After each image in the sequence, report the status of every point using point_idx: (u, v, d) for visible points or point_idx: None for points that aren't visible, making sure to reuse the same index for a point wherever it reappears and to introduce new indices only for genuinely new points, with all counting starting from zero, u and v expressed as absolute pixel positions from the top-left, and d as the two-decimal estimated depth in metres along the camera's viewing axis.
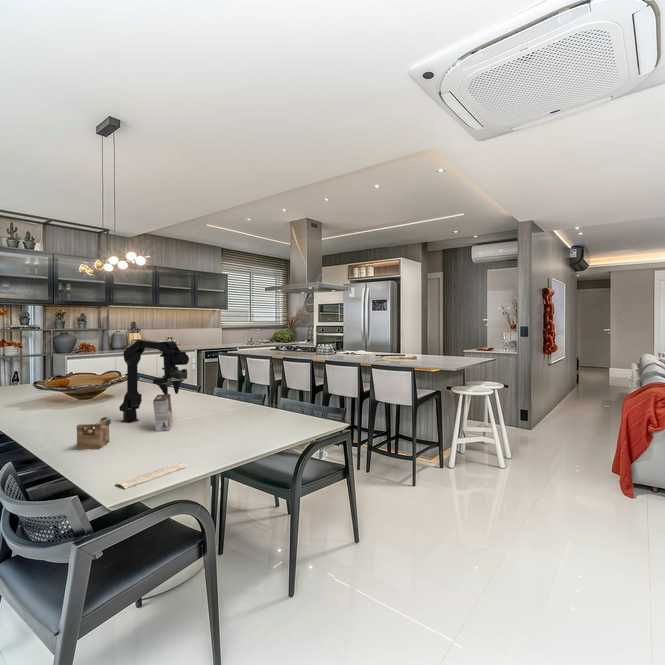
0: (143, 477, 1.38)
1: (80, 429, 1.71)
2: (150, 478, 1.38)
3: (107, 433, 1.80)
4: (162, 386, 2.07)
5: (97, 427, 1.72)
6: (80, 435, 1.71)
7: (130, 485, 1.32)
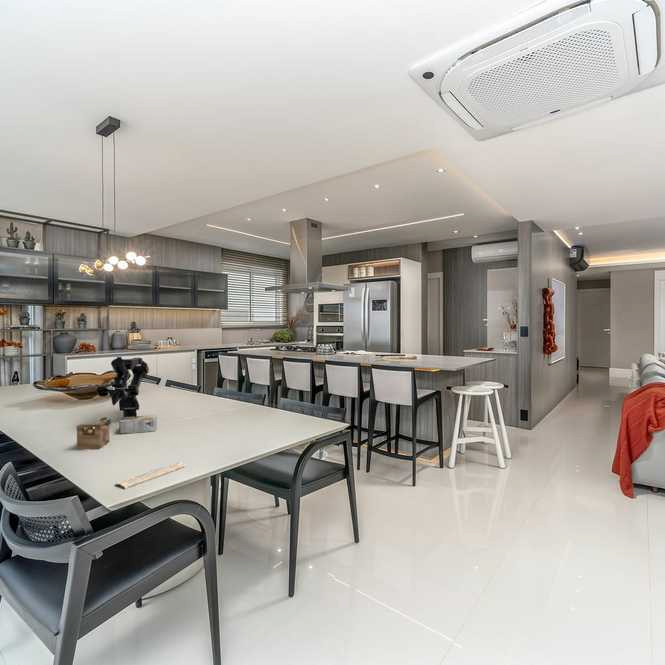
0: (143, 477, 1.38)
1: (80, 429, 1.71)
2: (150, 477, 1.38)
3: (107, 433, 1.80)
4: (119, 394, 2.02)
5: (97, 427, 1.72)
6: (80, 435, 1.71)
7: (130, 485, 1.32)
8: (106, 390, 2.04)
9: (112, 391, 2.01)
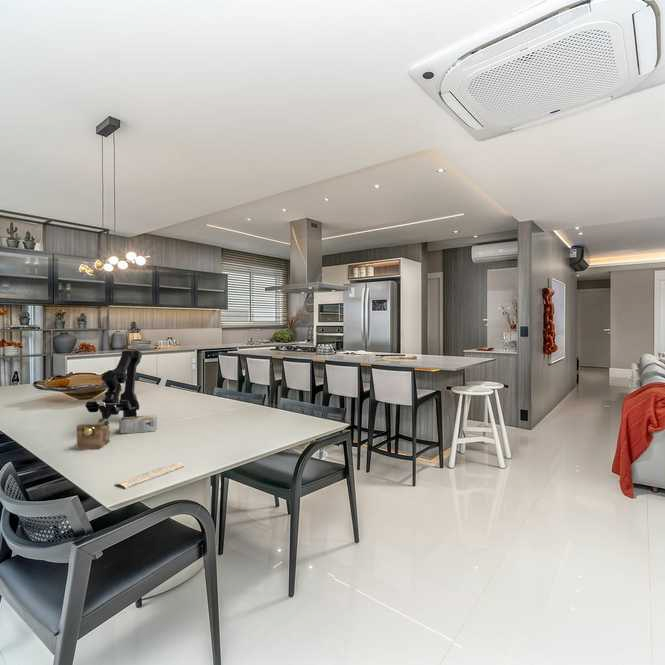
0: (142, 477, 1.38)
1: (80, 429, 1.71)
2: (149, 477, 1.38)
3: (107, 433, 1.80)
4: (110, 410, 1.91)
5: (97, 427, 1.72)
6: (80, 435, 1.71)
7: (130, 485, 1.32)
8: (96, 406, 1.92)
9: (102, 407, 1.90)
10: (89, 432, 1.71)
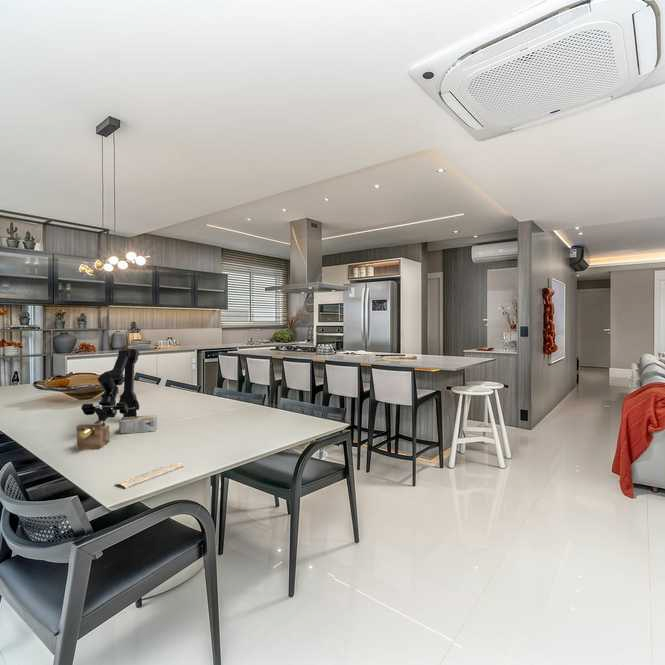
0: (142, 476, 1.38)
1: (80, 429, 1.71)
2: (149, 477, 1.38)
3: (107, 433, 1.80)
4: (106, 413, 1.87)
5: (97, 427, 1.72)
6: None
7: (130, 485, 1.32)
8: (93, 408, 1.88)
9: (99, 409, 1.86)
10: (85, 435, 1.67)
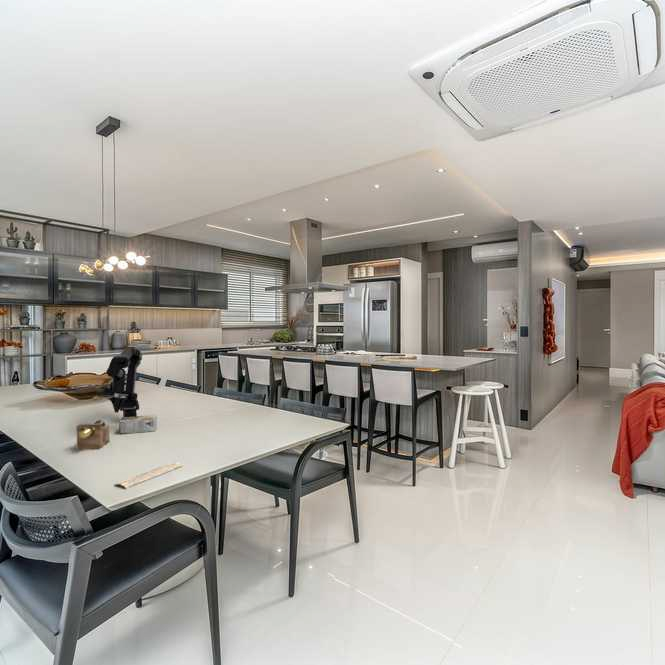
0: (142, 476, 1.38)
1: (80, 429, 1.71)
2: (149, 477, 1.39)
3: (107, 433, 1.80)
4: None
5: (97, 427, 1.72)
6: None
7: (130, 484, 1.32)
8: None
9: (119, 399, 1.98)
10: (85, 435, 1.67)
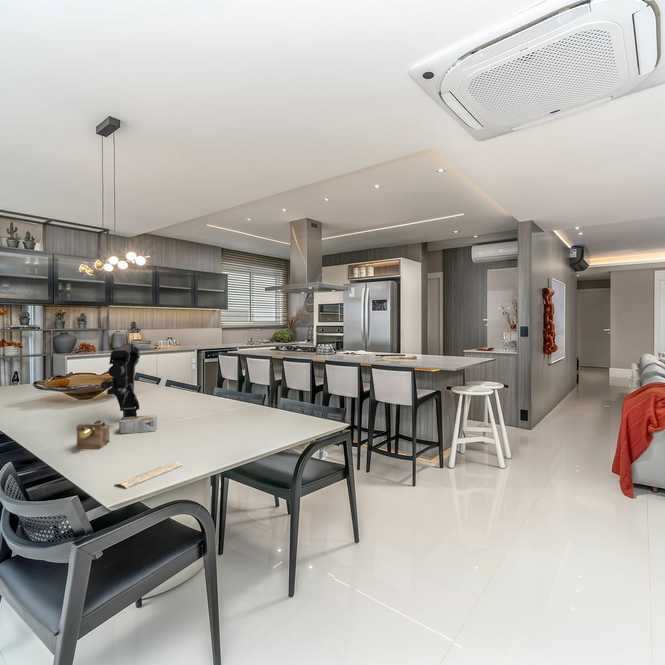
0: (142, 476, 1.38)
1: (80, 429, 1.71)
2: (149, 477, 1.39)
3: (107, 433, 1.80)
4: None
5: (97, 427, 1.72)
6: None
7: (131, 484, 1.32)
8: None
9: (125, 394, 2.02)
10: (85, 435, 1.67)
